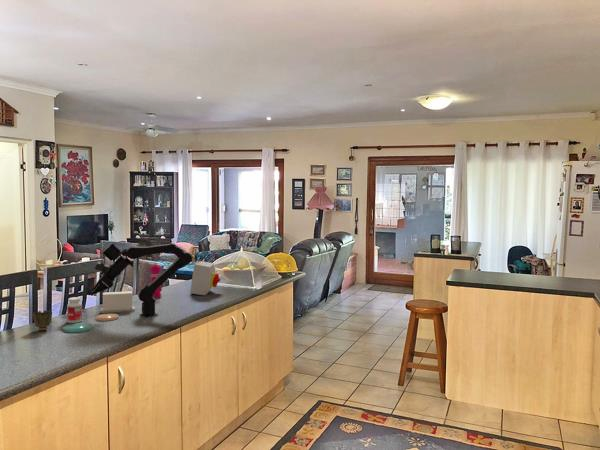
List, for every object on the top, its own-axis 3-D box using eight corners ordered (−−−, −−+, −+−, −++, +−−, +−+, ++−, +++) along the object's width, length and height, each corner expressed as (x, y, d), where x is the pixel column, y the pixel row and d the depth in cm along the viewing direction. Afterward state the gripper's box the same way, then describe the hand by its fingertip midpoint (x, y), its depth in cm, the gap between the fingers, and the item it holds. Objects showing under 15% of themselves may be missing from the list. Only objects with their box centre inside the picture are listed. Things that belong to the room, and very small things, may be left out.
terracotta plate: (122, 318, 235) (122, 316, 235) (103, 322, 227) (103, 320, 227) (110, 314, 241) (110, 312, 241) (91, 318, 233) (91, 316, 233)
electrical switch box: (214, 299, 288) (219, 266, 286) (189, 295, 288) (194, 262, 286) (218, 294, 302) (223, 262, 301) (195, 290, 302) (200, 258, 301)
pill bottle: (64, 321, 227) (64, 298, 226) (78, 319, 232) (77, 296, 231) (71, 324, 223) (70, 300, 222) (84, 321, 228) (84, 298, 227)
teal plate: (98, 328, 217) (98, 326, 217) (71, 334, 208) (71, 332, 208) (83, 323, 225) (83, 321, 224) (57, 329, 215) (57, 326, 215)
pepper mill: (158, 298, 278) (158, 263, 277) (146, 297, 280) (146, 263, 278) (164, 295, 285) (164, 261, 284) (152, 294, 287) (152, 261, 285)
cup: (32, 333, 208) (32, 315, 207) (33, 329, 214) (32, 311, 214) (52, 331, 211) (52, 313, 211) (52, 327, 218) (52, 309, 217)
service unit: (134, 310, 249) (134, 293, 249) (100, 313, 244) (100, 295, 243) (134, 307, 256) (134, 290, 255) (101, 309, 250) (101, 292, 250)
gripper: (104, 253, 240) (80, 277, 237) (105, 258, 223) (79, 284, 219) (122, 268, 243) (98, 291, 240) (123, 274, 226) (98, 300, 223)
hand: (93, 291), depth 231 cm, fingers open, 9 cm apart
